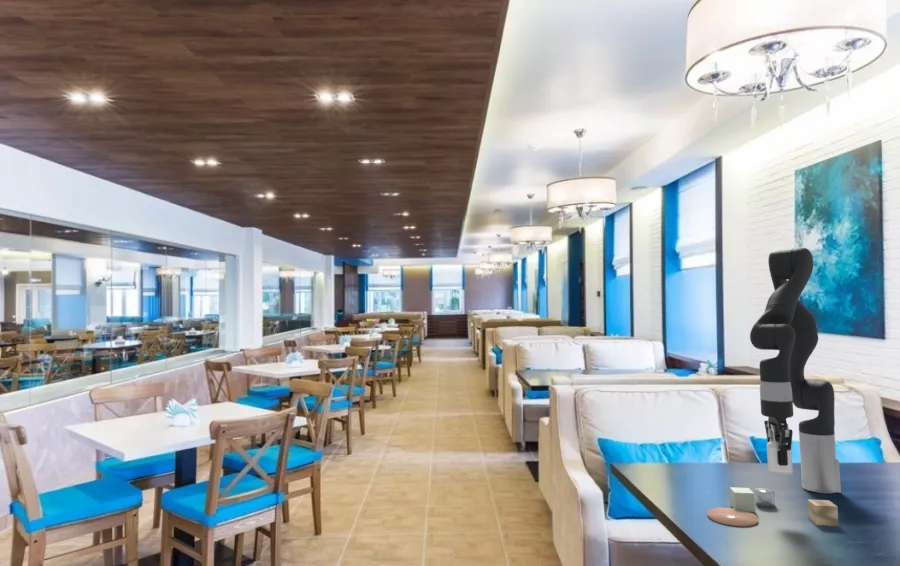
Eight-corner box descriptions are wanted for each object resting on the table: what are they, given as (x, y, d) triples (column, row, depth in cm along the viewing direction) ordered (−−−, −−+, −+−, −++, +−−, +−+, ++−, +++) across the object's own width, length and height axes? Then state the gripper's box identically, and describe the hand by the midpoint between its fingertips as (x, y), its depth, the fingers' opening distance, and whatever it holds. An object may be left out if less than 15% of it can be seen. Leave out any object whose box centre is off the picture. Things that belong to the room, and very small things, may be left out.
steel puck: (771, 502, 160) (770, 488, 160) (777, 508, 155) (777, 493, 155) (752, 501, 161) (751, 487, 161) (758, 507, 156) (757, 492, 156)
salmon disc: (749, 511, 152) (749, 508, 153) (764, 528, 141) (764, 524, 141) (702, 509, 155) (702, 506, 155) (713, 525, 143) (713, 521, 143)
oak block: (829, 519, 146) (828, 500, 147) (838, 526, 141) (837, 506, 142) (808, 518, 147) (807, 499, 148) (816, 525, 142) (815, 505, 143)
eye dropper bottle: (788, 477, 145) (785, 430, 146) (765, 472, 150) (763, 427, 150) (795, 473, 148) (792, 428, 149) (772, 469, 152) (770, 425, 153)
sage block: (749, 506, 158) (748, 488, 158) (755, 512, 153) (754, 493, 153) (730, 505, 159) (729, 487, 159) (735, 511, 154) (734, 492, 154)
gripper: (802, 402, 142) (806, 470, 141) (781, 394, 156) (785, 456, 155) (770, 402, 144) (774, 469, 143) (752, 394, 158) (755, 455, 157)
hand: (779, 462), depth 149 cm, fingers closed on eye dropper bottle, 3 cm apart
